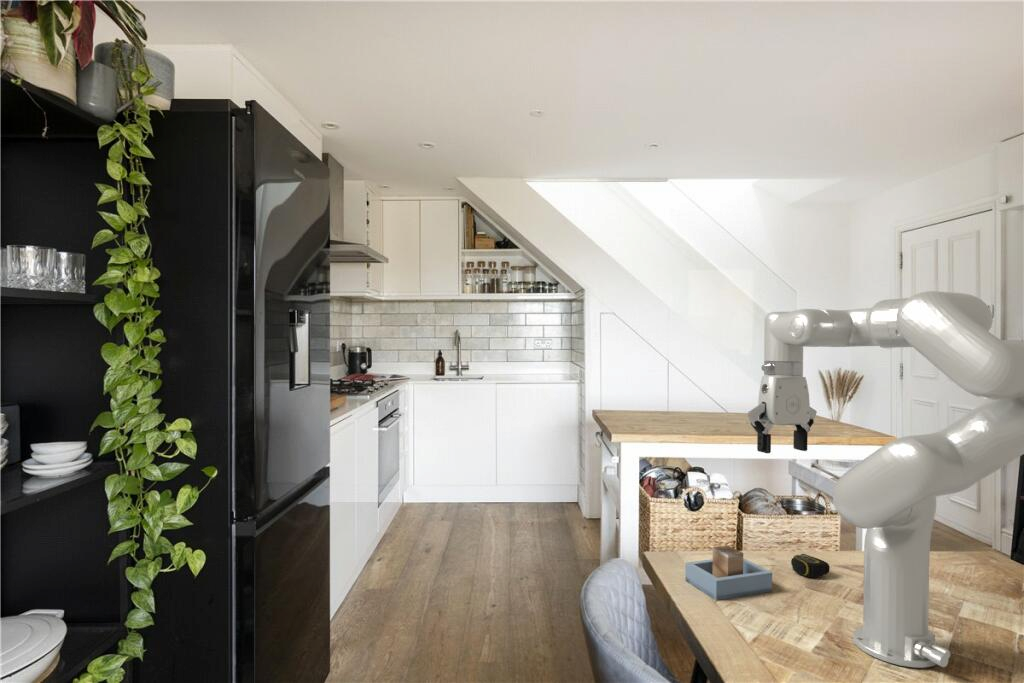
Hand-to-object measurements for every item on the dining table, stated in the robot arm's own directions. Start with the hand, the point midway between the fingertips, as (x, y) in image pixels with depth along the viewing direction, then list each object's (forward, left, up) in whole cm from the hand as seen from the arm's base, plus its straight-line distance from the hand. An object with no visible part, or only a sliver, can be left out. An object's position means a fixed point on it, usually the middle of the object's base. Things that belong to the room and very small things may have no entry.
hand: (782, 451), depth 124 cm
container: (+7, +8, -30) cm, 32 cm away
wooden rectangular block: (+7, +8, -30) cm, 31 cm away
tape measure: (+7, -15, -31) cm, 35 cm away
